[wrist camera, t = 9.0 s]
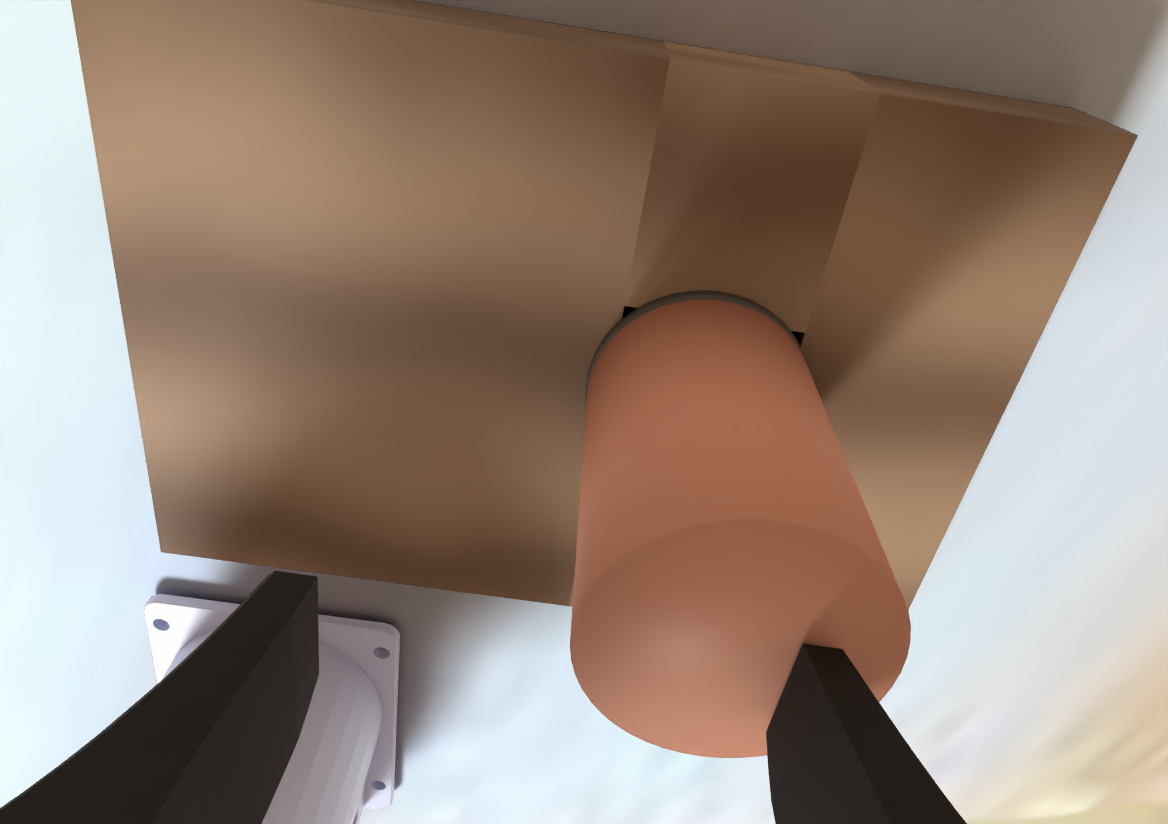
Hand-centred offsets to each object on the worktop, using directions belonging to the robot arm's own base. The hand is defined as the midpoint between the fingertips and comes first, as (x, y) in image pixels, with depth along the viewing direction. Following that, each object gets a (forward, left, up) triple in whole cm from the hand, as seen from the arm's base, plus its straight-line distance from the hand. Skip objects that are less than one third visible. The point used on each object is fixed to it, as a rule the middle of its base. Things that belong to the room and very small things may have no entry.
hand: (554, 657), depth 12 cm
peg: (+1, -3, -10) cm, 10 cm away
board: (0, 0, -10) cm, 10 cm away
